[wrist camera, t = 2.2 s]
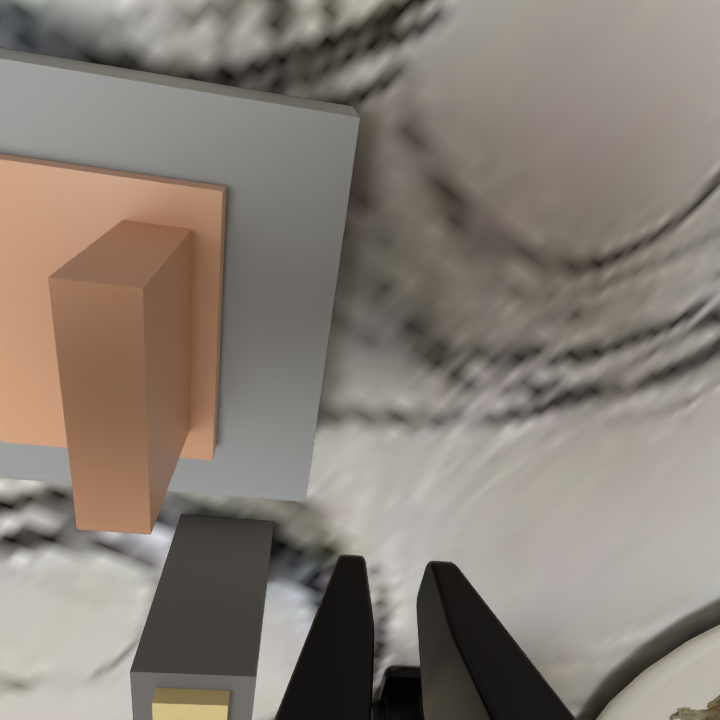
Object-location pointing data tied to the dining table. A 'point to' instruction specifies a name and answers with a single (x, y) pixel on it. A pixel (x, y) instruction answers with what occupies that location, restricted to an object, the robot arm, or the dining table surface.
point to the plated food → (674, 685)
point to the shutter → (110, 328)
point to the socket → (241, 245)
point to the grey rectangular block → (205, 623)
